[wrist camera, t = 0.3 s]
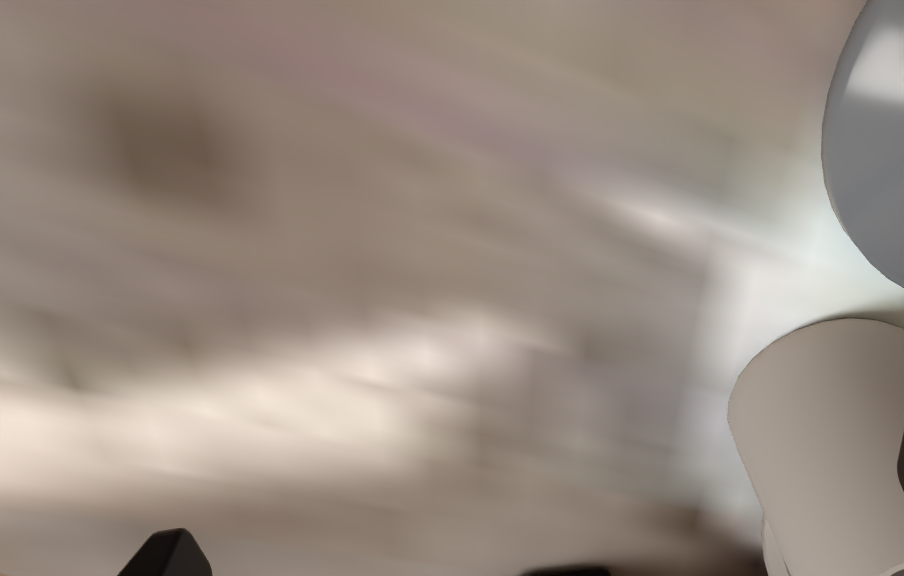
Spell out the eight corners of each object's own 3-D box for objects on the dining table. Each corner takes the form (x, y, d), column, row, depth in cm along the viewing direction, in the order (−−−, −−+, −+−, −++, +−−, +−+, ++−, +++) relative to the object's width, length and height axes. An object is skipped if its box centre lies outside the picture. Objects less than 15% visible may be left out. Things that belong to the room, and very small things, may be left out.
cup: (969, 329, 27) (1167, 554, 20) (824, 510, 33) (937, 736, 25) (778, 295, 26) (914, 521, 19) (663, 489, 32) (733, 719, 24)
